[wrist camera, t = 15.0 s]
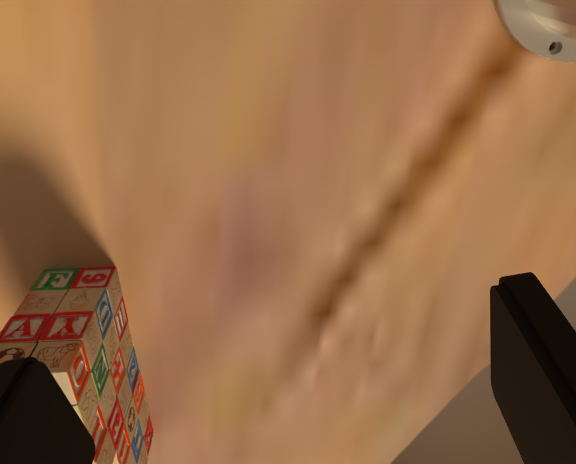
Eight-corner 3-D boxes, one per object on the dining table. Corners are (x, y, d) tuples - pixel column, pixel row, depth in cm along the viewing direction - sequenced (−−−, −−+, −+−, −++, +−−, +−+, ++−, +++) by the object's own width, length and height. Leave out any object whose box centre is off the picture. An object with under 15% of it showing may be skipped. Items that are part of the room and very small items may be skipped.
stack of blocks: (156, 431, 54) (128, 554, 43) (96, 434, 54) (54, 557, 43) (116, 264, 43) (66, 373, 32) (41, 267, 43) (-33, 377, 32)
